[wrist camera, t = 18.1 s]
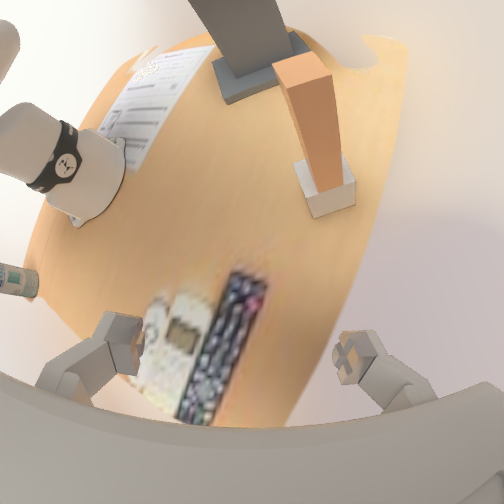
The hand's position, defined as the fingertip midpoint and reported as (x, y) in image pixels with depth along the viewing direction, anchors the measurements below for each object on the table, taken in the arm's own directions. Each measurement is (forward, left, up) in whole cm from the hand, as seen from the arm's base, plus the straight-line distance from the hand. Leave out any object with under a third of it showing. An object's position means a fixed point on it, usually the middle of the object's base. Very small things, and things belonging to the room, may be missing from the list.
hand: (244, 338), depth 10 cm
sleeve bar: (-3, +12, -9) cm, 16 cm away
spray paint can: (-53, -26, -19) cm, 62 cm away
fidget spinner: (-54, +30, -20) cm, 65 cm away
